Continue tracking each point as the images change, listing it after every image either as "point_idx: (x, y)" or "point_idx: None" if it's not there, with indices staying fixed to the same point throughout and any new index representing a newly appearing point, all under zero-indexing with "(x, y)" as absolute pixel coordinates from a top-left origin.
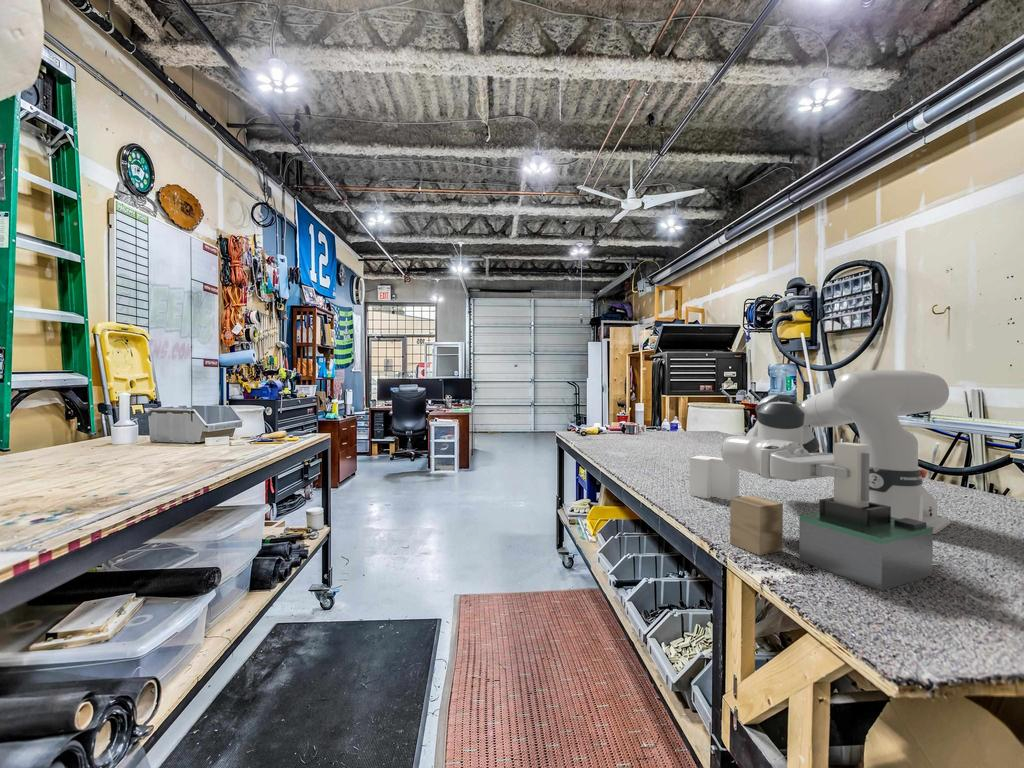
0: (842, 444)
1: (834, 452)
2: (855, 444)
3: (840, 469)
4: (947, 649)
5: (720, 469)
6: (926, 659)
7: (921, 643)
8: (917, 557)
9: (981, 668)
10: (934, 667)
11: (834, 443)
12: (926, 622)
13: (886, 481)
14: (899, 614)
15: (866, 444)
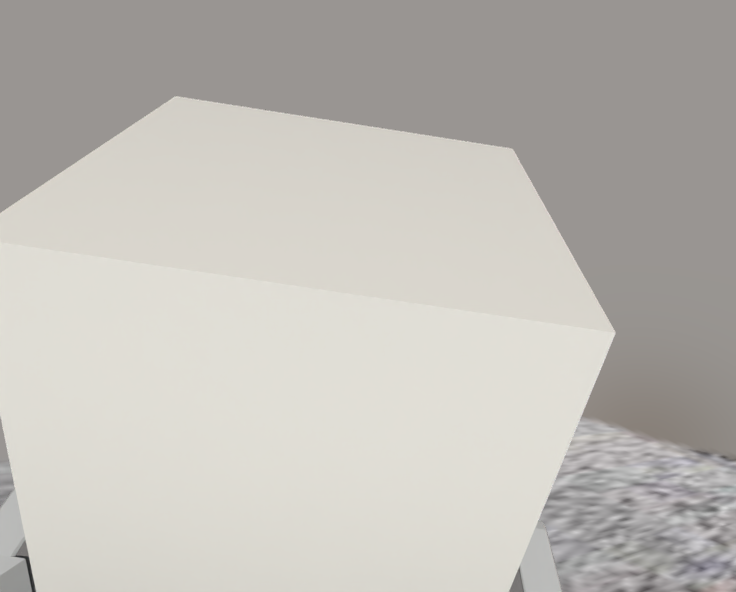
0: (560, 243)
1: (525, 531)
2: (348, 156)
3: (551, 570)
4: (628, 480)
5: None
6: (714, 491)
7: (667, 511)
8: None
9: (627, 440)
10: (721, 478)
11: (604, 342)
12: (552, 532)
13: None
14: (585, 582)
15: (164, 106)
